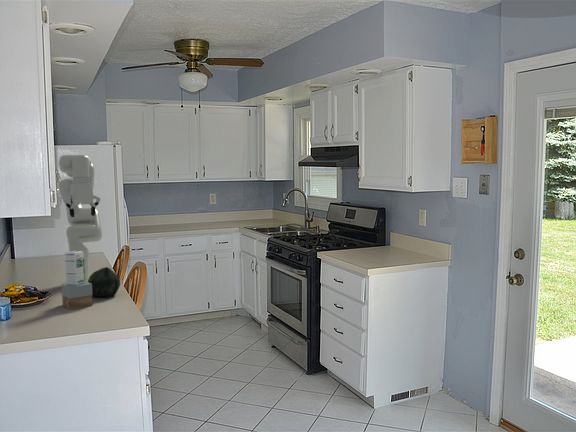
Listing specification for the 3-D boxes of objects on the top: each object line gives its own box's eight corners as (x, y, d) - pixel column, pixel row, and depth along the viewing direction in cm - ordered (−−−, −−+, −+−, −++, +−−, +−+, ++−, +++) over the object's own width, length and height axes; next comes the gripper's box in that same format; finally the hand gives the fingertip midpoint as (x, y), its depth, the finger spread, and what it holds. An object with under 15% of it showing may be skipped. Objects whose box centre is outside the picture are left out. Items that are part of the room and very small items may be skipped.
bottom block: (62, 305, 238) (62, 294, 238) (85, 301, 245) (84, 291, 244) (69, 309, 231) (68, 298, 230) (92, 306, 237) (91, 295, 236)
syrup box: (77, 285, 233) (75, 252, 232) (66, 284, 235) (64, 252, 234) (85, 282, 239) (84, 250, 237) (74, 282, 240) (73, 250, 239)
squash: (87, 281, 261) (87, 262, 251) (119, 280, 266) (120, 261, 256) (87, 305, 252) (87, 287, 241) (120, 304, 257) (121, 285, 247)
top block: (61, 294, 238) (61, 283, 237) (84, 291, 244) (83, 280, 244) (69, 298, 230) (68, 287, 230) (92, 294, 237) (91, 283, 236)
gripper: (96, 180, 263) (98, 214, 264) (60, 181, 252) (62, 217, 253) (102, 180, 257) (103, 215, 258) (64, 181, 246) (66, 218, 248)
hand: (82, 216), depth 256 cm, fingers open, 9 cm apart
